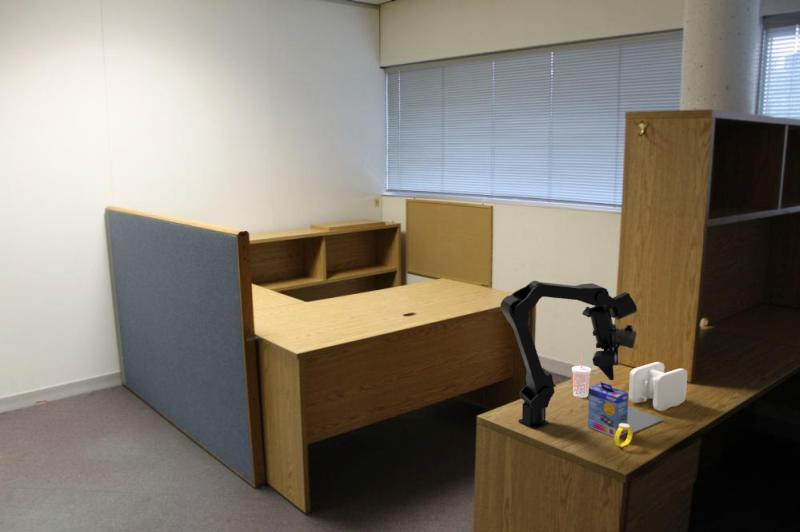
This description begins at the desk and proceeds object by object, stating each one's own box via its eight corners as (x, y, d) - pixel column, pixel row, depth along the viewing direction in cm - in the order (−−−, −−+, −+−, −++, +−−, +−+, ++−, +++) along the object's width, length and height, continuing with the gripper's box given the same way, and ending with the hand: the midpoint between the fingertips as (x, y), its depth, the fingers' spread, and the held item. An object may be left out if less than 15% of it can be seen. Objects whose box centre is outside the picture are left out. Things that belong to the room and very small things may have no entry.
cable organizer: (655, 414, 201) (657, 378, 199) (626, 403, 210) (628, 368, 207) (686, 403, 209) (688, 368, 206) (657, 393, 217) (659, 359, 215)
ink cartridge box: (586, 427, 193) (588, 379, 190) (597, 422, 196) (599, 375, 194) (616, 438, 185) (618, 389, 183) (627, 432, 189) (630, 384, 186)
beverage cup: (584, 390, 221) (585, 350, 218) (594, 397, 215) (595, 355, 212) (567, 392, 219) (568, 351, 217) (577, 399, 213) (578, 357, 211)
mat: (632, 433, 188) (632, 432, 188) (597, 420, 198) (597, 418, 198) (664, 420, 196) (664, 419, 196) (629, 407, 206) (629, 406, 206)
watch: (625, 441, 184) (627, 421, 183) (634, 445, 182) (636, 424, 181) (611, 446, 181) (613, 425, 180) (620, 450, 178) (622, 428, 178)
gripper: (627, 336, 184) (638, 386, 188) (634, 309, 200) (645, 355, 204) (586, 340, 190) (599, 388, 193) (597, 313, 205) (608, 358, 209)
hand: (614, 372), depth 200 cm, fingers open, 9 cm apart
